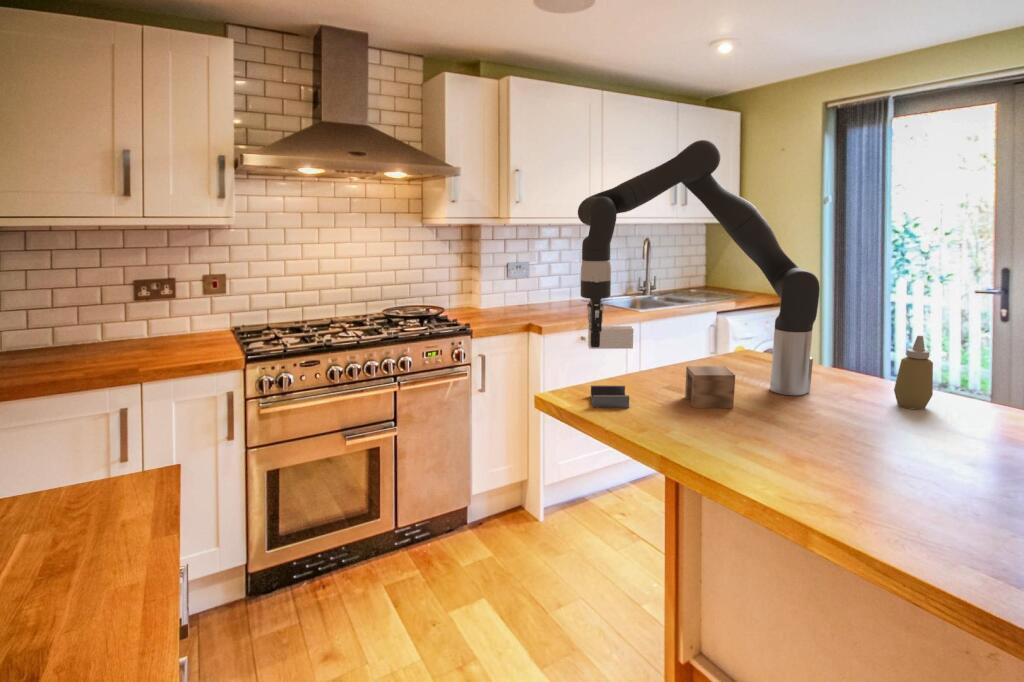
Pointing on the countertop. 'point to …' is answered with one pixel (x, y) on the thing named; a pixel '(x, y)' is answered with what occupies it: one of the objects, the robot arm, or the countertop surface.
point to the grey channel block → (609, 396)
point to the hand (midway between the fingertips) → (594, 344)
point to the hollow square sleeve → (710, 386)
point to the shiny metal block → (613, 337)
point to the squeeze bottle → (915, 378)
